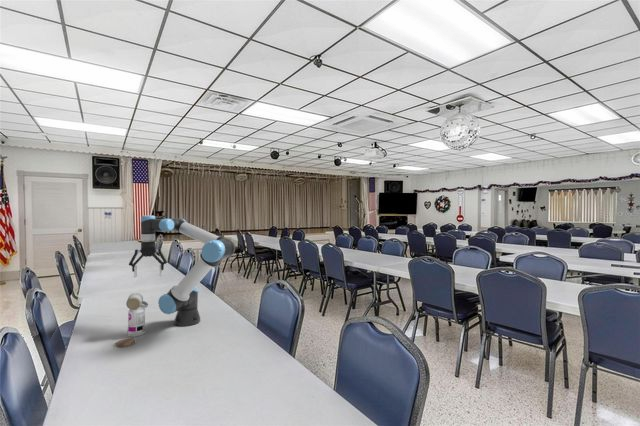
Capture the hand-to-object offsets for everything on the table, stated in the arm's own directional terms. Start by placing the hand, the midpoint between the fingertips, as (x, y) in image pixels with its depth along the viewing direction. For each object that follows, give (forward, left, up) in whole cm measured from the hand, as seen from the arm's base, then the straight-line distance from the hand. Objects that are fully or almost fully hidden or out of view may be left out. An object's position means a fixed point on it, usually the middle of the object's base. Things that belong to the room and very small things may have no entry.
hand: (148, 276), depth 190 cm
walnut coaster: (+3, +25, -30) cm, 39 cm away
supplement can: (+2, +12, -31) cm, 33 cm away
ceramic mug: (+2, +11, -16) cm, 19 cm away
